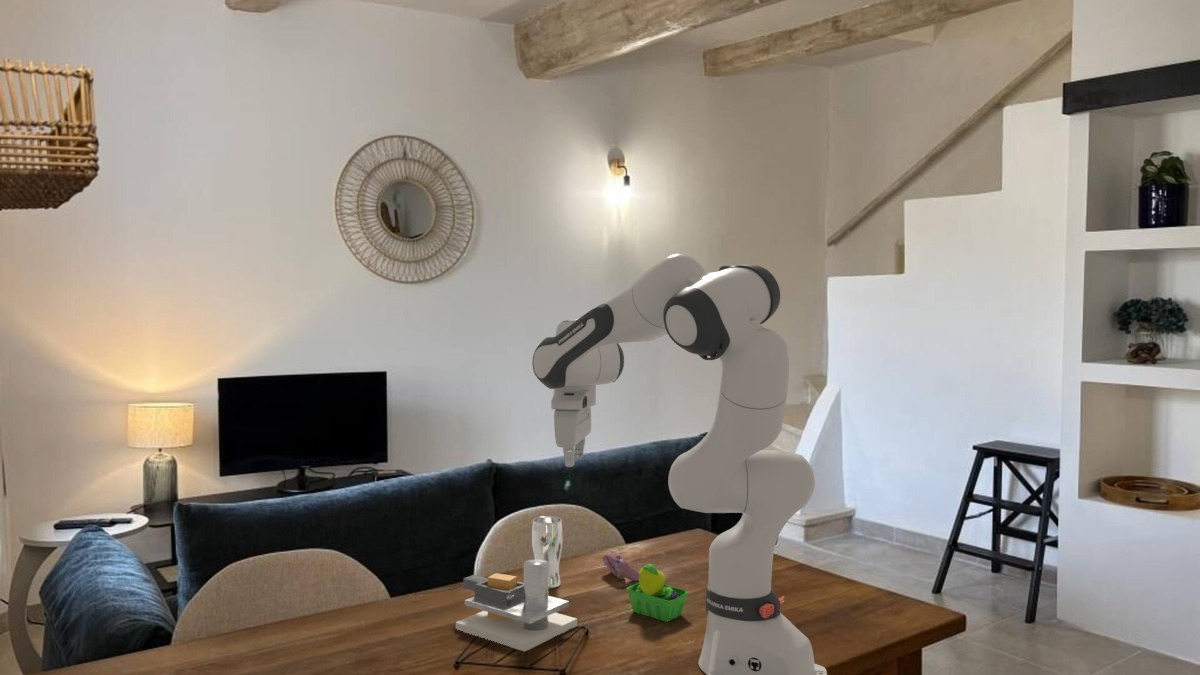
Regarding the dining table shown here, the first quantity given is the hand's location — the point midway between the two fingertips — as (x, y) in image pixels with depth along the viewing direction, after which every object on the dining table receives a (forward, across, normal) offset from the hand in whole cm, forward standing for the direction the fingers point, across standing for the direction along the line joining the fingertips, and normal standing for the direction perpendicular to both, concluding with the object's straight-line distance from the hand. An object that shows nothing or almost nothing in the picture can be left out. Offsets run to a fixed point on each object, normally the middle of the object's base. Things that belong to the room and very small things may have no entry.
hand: (574, 461), depth 189 cm
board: (+31, +14, -9) cm, 35 cm away
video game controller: (+31, -22, +7) cm, 39 cm away
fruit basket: (+31, +1, +18) cm, 36 cm away
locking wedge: (+30, +12, -12) cm, 34 cm away
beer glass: (+31, -13, -9) cm, 35 cm away
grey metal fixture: (+30, +12, -11) cm, 34 cm away
